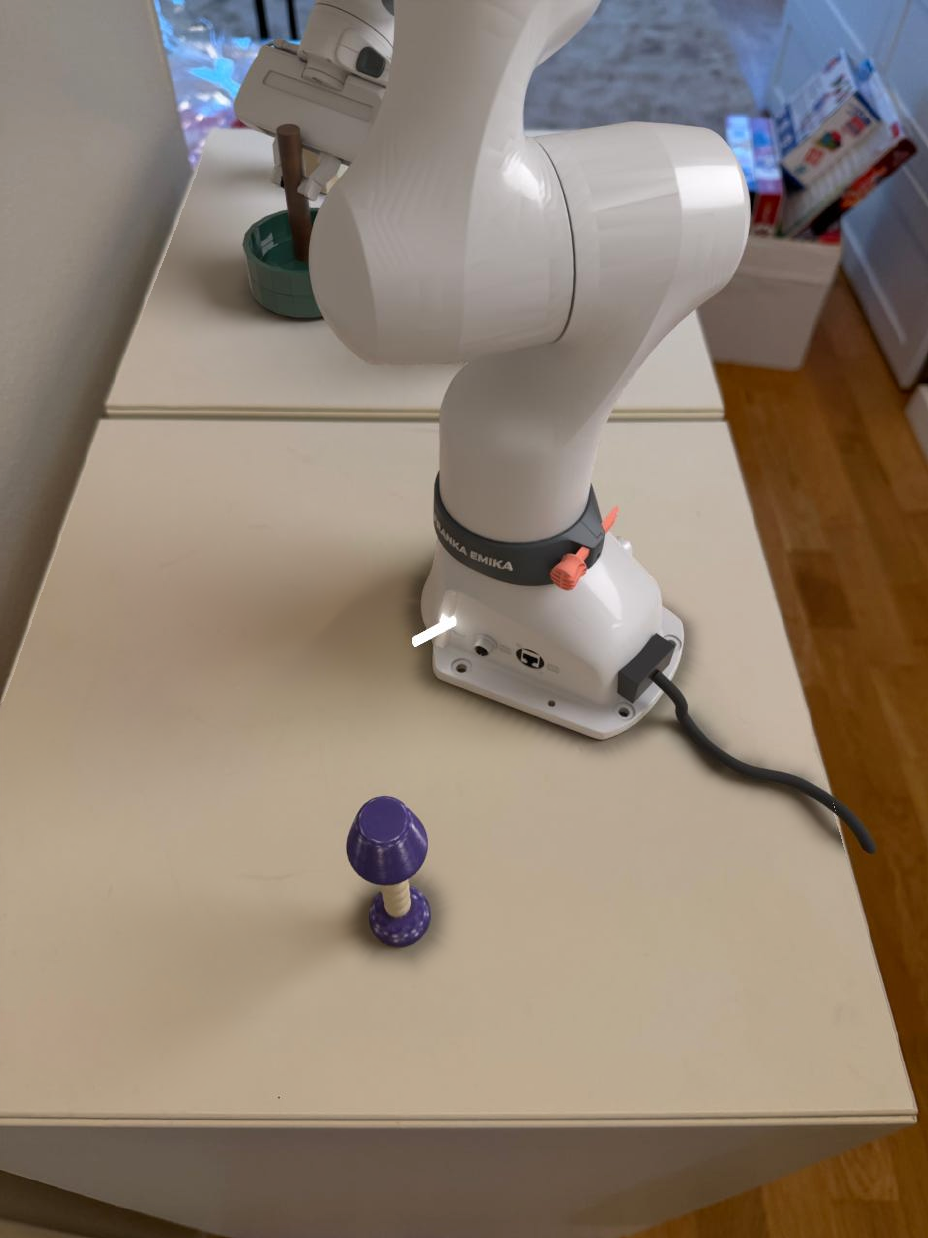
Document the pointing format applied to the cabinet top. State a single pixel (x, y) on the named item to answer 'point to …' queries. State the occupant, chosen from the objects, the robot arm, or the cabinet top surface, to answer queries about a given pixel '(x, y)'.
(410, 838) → the toy lamp
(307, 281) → the bowl
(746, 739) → the cabinet top surface
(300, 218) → the stirring stick
